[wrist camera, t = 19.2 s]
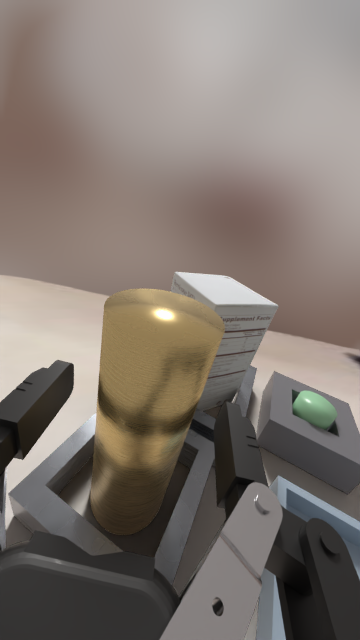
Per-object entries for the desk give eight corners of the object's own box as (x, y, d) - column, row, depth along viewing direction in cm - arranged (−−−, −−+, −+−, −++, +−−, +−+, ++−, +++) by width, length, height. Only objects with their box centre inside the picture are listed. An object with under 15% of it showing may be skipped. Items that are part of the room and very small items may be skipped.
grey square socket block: (331, 424, 25) (348, 403, 24) (347, 494, 18) (373, 471, 17) (262, 392, 28) (274, 371, 26) (254, 443, 21) (269, 418, 19)
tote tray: (400, 568, 15) (421, 557, 14) (522, 926, 7) (586, 951, 6) (267, 489, 17) (278, 475, 16) (252, 688, 10) (270, 681, 9)
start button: (318, 420, 23) (333, 401, 22) (323, 446, 20) (340, 426, 19) (286, 405, 24) (298, 385, 23) (286, 428, 21) (300, 407, 20)
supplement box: (151, 370, 27) (172, 269, 21) (201, 362, 30) (230, 275, 25) (177, 421, 21) (215, 303, 15) (234, 404, 25) (282, 303, 19)
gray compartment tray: (250, 380, 29) (257, 366, 28) (175, 670, 10) (189, 661, 9) (169, 343, 33) (173, 328, 32) (-3, 499, 13) (-10, 477, 12)
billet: (175, 475, 17) (236, 315, 11) (137, 556, 12) (201, 368, 6) (122, 440, 18) (149, 282, 12) (72, 502, 14) (73, 307, 8)
